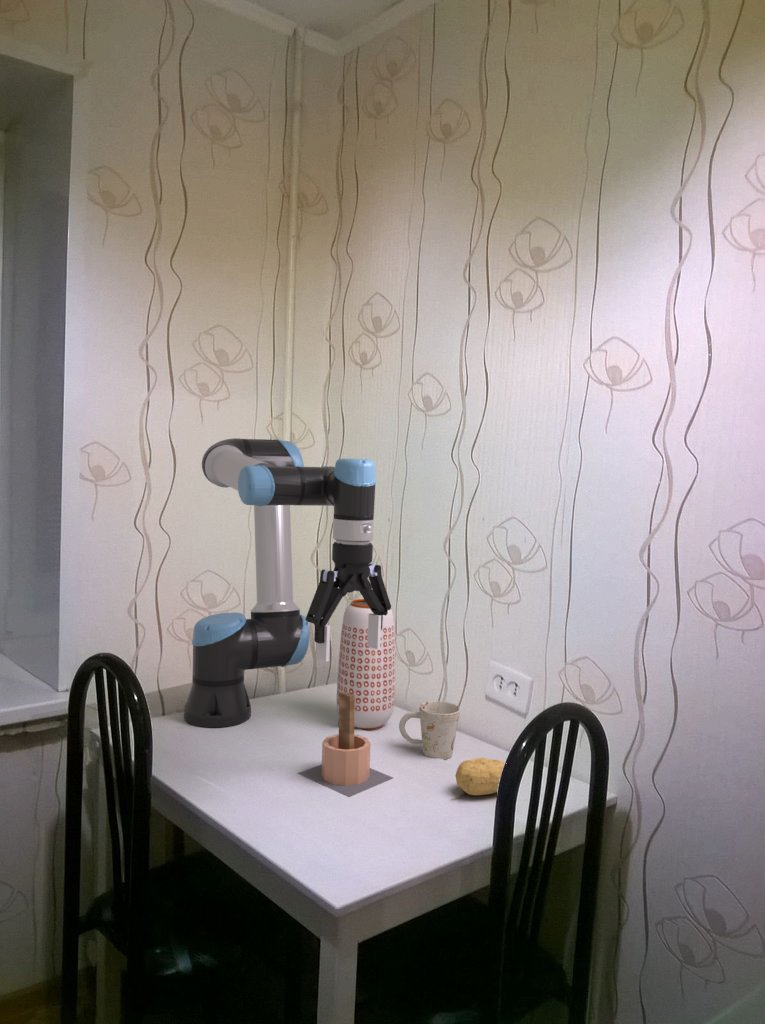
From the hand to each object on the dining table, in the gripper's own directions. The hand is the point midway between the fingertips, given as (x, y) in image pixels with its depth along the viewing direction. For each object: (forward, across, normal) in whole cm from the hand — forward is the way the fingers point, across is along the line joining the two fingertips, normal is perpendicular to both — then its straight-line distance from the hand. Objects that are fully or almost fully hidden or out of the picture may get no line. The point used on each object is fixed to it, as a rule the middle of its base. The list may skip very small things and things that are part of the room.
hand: (348, 653), depth 146 cm
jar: (+24, 0, 0) cm, 24 cm away
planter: (+24, +24, +18) cm, 38 cm away
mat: (+24, 0, 0) cm, 24 cm away
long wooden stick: (+23, 0, 0) cm, 23 cm away
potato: (+24, +14, -22) cm, 36 cm away
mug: (+24, +21, -3) cm, 32 cm away
